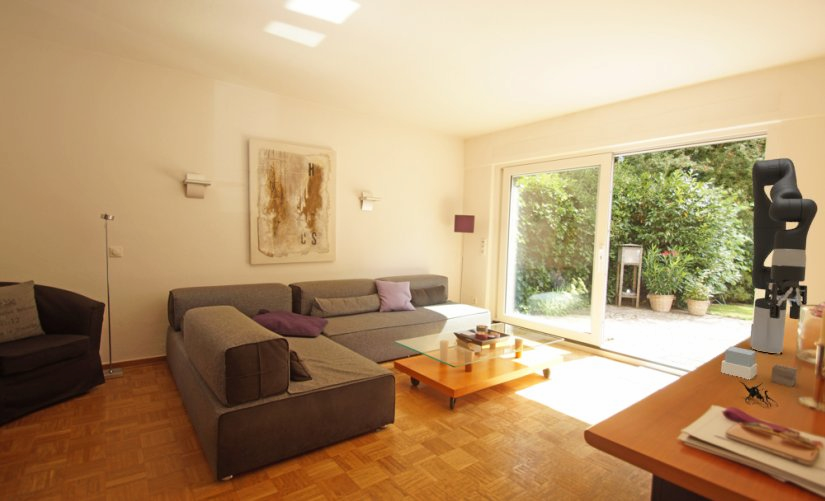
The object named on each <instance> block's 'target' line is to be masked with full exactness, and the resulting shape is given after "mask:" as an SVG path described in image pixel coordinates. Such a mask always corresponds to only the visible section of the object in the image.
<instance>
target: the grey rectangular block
mask: <svg viewBox="0 0 825 501" xmlns="http://www.w3.org/2000/svg"><path fill="white" fill-rule="evenodd" d="M724 352H725V353H724V360H725V362H728V363H732V364H737V365H741V366H746V367H751V366H752V365H754V364H755V363H756V354H757V351H755V350H752V349H747V348H740V347H738V346H737V347H736V346H729V347H728V348H726V349H725V351H724Z"/></svg>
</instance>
